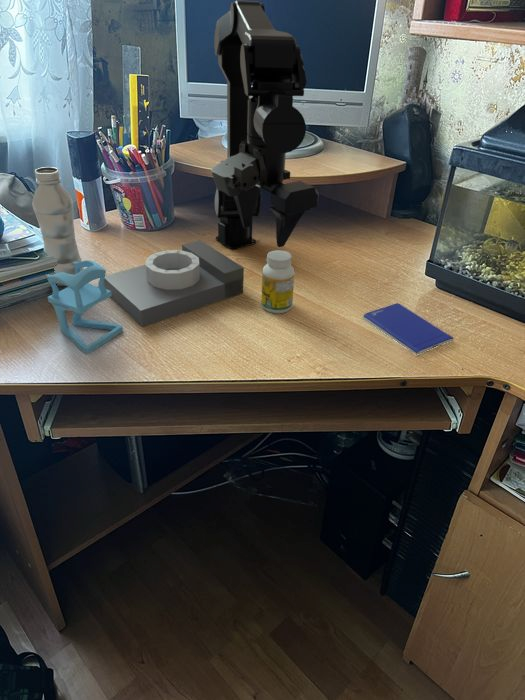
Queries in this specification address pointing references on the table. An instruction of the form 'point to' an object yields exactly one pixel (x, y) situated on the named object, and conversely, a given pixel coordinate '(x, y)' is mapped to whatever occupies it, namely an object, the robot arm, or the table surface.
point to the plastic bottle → (56, 220)
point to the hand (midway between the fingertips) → (262, 236)
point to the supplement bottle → (277, 282)
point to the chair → (81, 301)
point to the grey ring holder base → (175, 282)
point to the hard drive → (407, 328)
